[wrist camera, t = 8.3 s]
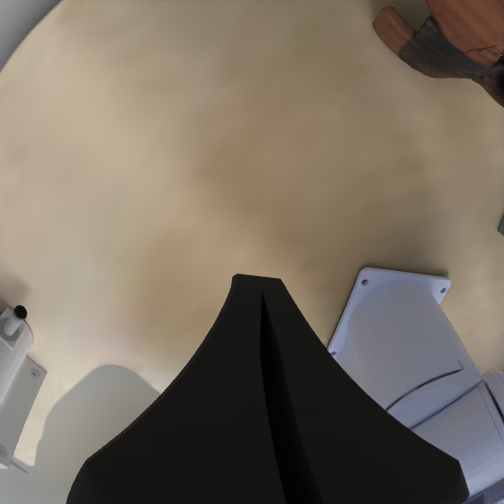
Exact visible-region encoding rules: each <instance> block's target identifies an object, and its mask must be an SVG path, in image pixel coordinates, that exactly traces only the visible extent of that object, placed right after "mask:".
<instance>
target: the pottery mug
mask: <svg viewBox="0 0 504 504" xmlns="http://www.w3.org/2000/svg"><path fill="white" fill-rule="evenodd" d="M426 3H427V6H428V8H429V11H430V12H431V14H432V15H431V16H429V17H428V18H427V19H426V21H425V23H424V25H423V26H422V27H421V29H420V30H419V31H417V32H415V31H414V30H413V29H412V28H411V27H410V26H409V25H408V24H407V23H406V22H405V21H404V20H403V19H402V18H401V16H400V15H399V14H398V13H397V12H396V10H395V9H394V8H393V7H391V6H387V7H385V8H383V9H382V10H381V12H380V15H379V17H378V18H377V19H376V21H375V22H374V23H373V27H374V29H375V31H376V32H377V34H378V35H379V37H380V38H381V39H382V40H383V41H384V42H385V44H386V45H387V46H388V47H389V48H390V49H391V50H392V51H393V52H394V53H395V54H397V55H398V56H399V57H400V58H401V59H402V60H403V61H404V62H406V63H407V64H409V65H410V66H411V67H412V68H413V69H415V70H417V71H419V72H421V73H423V74H424V75H427V76H429V77H433V78H469V79H471V78H472V80H473V81H475V82H477V83H478V84H480V85H481V86H482V87H483V88H484V89H485V90H486V91H487V92H488V94H489V95H490V96H491V97H492V98H493V99H494V100H495V101H496V102H497V103H498V104H500V105H501V106H502V107H503V108H504V0H426ZM501 55H503V56H501Z"/></svg>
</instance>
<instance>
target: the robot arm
mask: <svg viewBox="0 0 504 504" xmlns="http://www.w3.org/2000/svg"><path fill="white" fill-rule="evenodd" d="M365 279H367V280H366V281H365V282H362V281H363V280H365ZM450 285H451V281H450V279H449V278H447V277H441V276H433V275H426V274H418V273H410V272H402V271H394V270H386V269H378V268H371V267H366V268H363V269H362V270H361V271H360V273H359V275H358V278H357V280H356V283H355V285H354V288H353V290H352V293H351V295H350V298H349V300H348V303H347V305H346V308H345V310H344V312H343V315H342V317H341V319H340V322H339V324H338V326H337V329H336V331H335V333H334V335H333V338H332V340H331V342H330V344H329V346H328V349H326V347H325V346H324V345H323V344H322V342H321V341H320V339H319V338H318V337H317V335H316V334H315V332H314V331H313V330H312V328H311V327H310V325H309V324H308V322H307V321H306V319H305V318H304V316H303V315H302V313H301V312H300V310H299V308H298V307H297V305H296V304H295V302H294V300H293V299H292V297H291V295H290V294H289V292H288V290H287V289H286V287H285V285H284V283H283V282H282V281H281V279H278V278H270V277H261V276H253V275H245V274H236V275H234V276H233V277H232V284H231V288H230V291H229V294H228V296H227V299H226V301H225V303H224V305H223V307H222V309H221V311H220V313H219V315H218V317H217V319H216V321H215V323H214V324H213V326H212V328H211V329H210V331H209V333H208V334H207V336H206V337H205V339H204V341H203V342H202V344H201V345H200V347H199V348H198V350H197V351H196V352H195V354H194V355H193V357H192V358H191V359H190V361H189V362H188V363H187V364H186V366H185V367H184V368H183V370H182V371H181V372H180V373H179V374H178V376H177V377H176V378H175V379H174V380H173V381H172V383H171V384H170V385H169V386H168V387H167V388H166V390H165V391H164V392H163V393H162V394H161V395H160V396H159V397H158V398H157V399H156V400H155V401H154V402H153V403H152V404H151V405H150V406H149V407H148V408H147V409H146V410H145V411H144V412H143V413H142V414H141V415H140V416H139V417H138V418H137V419H136V420H134V421H133V422H132V423H131V424H130V425H129V426H128V427H127V428H126V429H125V430H123V431H122V432H121V433H120V434H119V435H118V436H116V437H115V438H114V439H112V440H111V441H110V442H108V443H107V444H106V445H105V446H103V447H102V448H101V449H99V450H98V451H97V452H96V453H94V454H93V455H92V456H91V457H89V458H88V459H87V460H86V461H85V463H84V464H83V466H82V467H81V469H80V471H79V473H78V474H77V476H76V478H75V480H74V482H73V484H72V487H71V490H70V492H69V495H68V498H67V502H66V504H504V372H502V371H496V372H495V371H494V370H493V369H491V370H489V371H488V372H487V373H485V374H484V375H485V378H486V380H487V382H488V383H487V382H486V380H485V379H484V377H483V376H482V374H481V373H480V371H479V370H478V368H477V367H476V366H475V364H474V362H473V360H472V359H471V357H470V355H469V353H468V352H467V350H466V348H465V346H464V345H463V343H462V341H461V340H460V338H459V336H458V335H457V333H456V331H455V330H454V328H453V326H452V325H451V323H450V321H449V320H448V318H447V317H446V315H445V313H444V312H443V310H442V309H441V307H440V304H441V302H442V300H443V298H444V297H445V295H446V293H447V291H448V289H449V287H450ZM441 289H442V290H441ZM333 351H334V352H333ZM488 384H489V385H488Z"/></svg>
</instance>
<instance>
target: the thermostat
mask: <svg viewBox="0 0 504 504" xmlns="http://www.w3.org/2000/svg"><path fill="white" fill-rule="evenodd" d="M26 316H27V311H26V309H25V308H24V307H23V306H21V305H18V306H16V308H15V309H14V310H12V309H10V308H9V307H7V308H6V309H5V311H4V312H3V313H2V315H1V316H0V469H6V468H9V465H10V462H11V459H12V456H13V454H14V451H15V448H16V445H17V443H18V440H19V437H20V435H21V432H22V429H23V427H24V424H25V422H26V419H27V417H28V415H29V412H30V410H31V407H32V405H33V403H34V400H35V398H36V396H37V393H38V391H39V389H40V387H41V385H42V382H43V380H44V378H45V376H46V374H47V372H46V371H45V370H44V369H42V368H41V367H40V366H38V365H37V364H36V363H35V362H33V361H32V360H31V359H30V358H28V356H27V355H26V354H27V352H28V351H29V349H30V347H31V345H32V343H33V335H32V332H31V330H30V328H29V327H28V325H27V324H26V323H25V321H24V319H25V318H26Z"/></svg>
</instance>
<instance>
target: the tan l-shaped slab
mask: <svg viewBox="0 0 504 504" xmlns="http://www.w3.org/2000/svg"><path fill="white" fill-rule="evenodd" d="M498 231H499V232H500V233H501V234H502V235H503V236H504V217H503V219H502V222H501V224H500V226H499V229H498Z"/></svg>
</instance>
